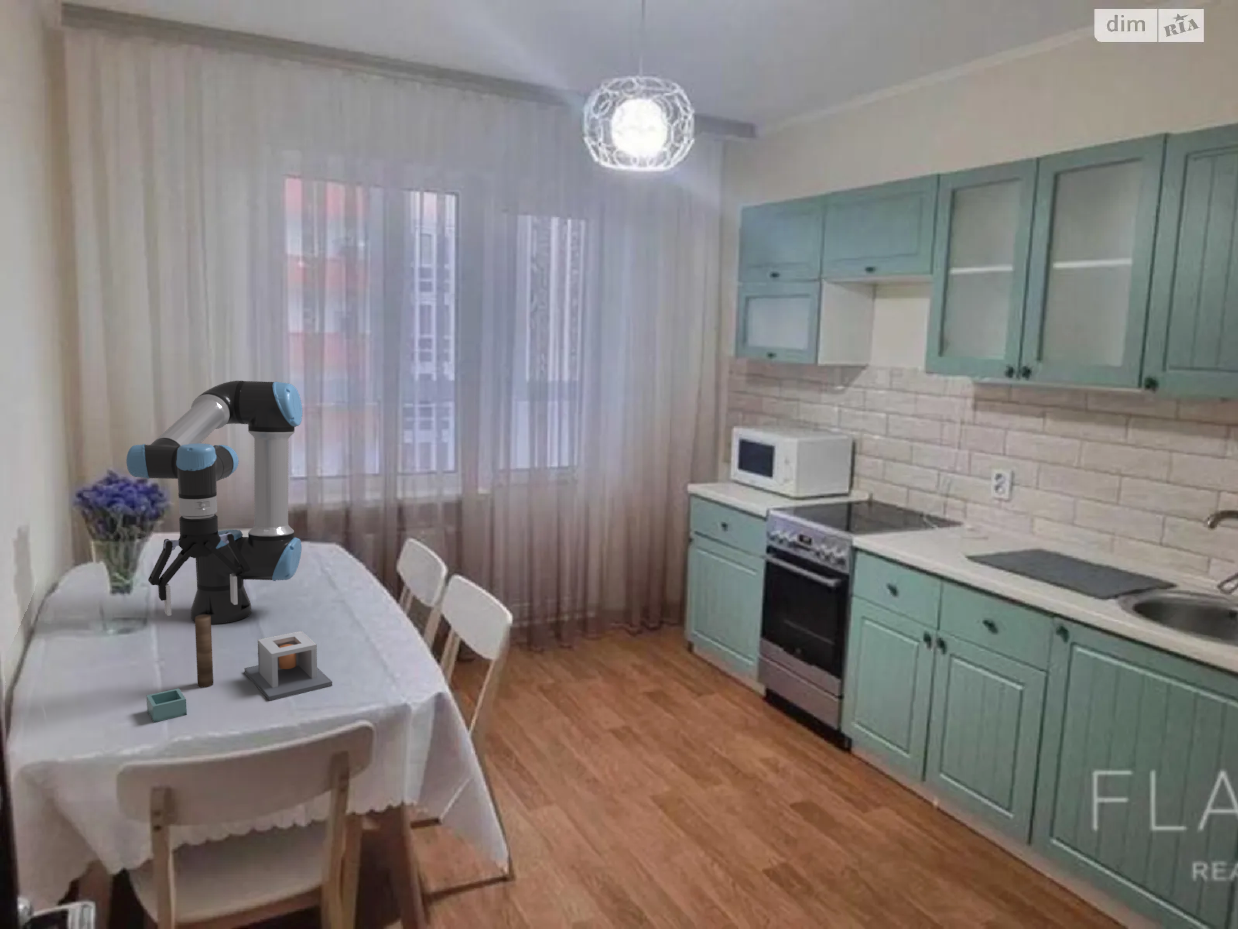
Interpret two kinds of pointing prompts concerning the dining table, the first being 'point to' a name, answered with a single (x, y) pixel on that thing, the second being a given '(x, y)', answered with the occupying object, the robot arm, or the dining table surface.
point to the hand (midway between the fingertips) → (201, 608)
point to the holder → (166, 705)
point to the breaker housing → (287, 680)
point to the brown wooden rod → (204, 650)
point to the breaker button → (287, 660)
